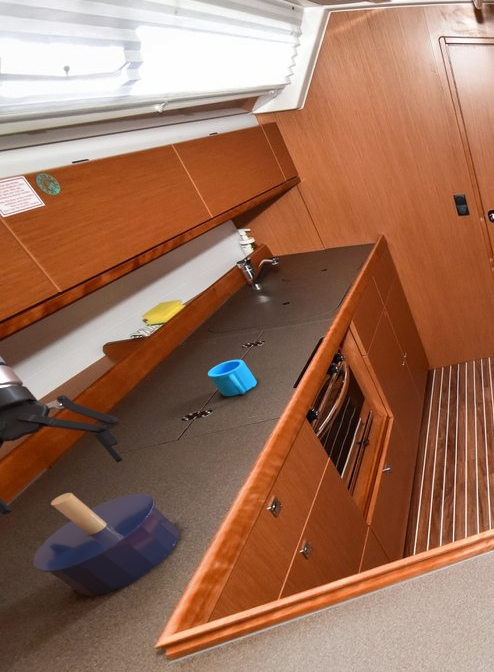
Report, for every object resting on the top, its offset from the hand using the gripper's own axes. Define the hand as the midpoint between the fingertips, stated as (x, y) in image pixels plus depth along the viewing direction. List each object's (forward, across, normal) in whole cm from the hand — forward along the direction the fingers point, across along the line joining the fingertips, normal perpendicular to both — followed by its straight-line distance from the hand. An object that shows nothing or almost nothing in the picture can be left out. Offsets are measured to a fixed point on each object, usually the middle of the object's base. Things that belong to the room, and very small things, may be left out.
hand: (66, 484), depth 78 cm
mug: (-11, +34, +34) cm, 49 cm away
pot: (+18, 0, +2) cm, 19 cm away
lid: (+11, 0, -4) cm, 12 cm away
